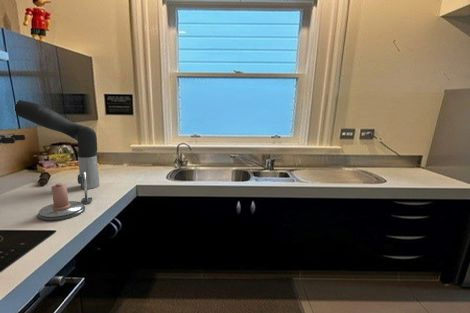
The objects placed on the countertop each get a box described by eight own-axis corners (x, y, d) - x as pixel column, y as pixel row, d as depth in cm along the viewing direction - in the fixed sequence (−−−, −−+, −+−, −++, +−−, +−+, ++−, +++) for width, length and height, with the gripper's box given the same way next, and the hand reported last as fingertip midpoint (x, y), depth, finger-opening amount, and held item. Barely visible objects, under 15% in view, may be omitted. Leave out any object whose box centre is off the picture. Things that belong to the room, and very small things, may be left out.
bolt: (41, 190, 153) (44, 182, 166) (50, 184, 155) (52, 177, 167) (34, 182, 151) (37, 174, 163) (43, 176, 152) (45, 169, 165)
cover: (55, 205, 120) (52, 182, 118) (72, 204, 122) (70, 181, 120) (49, 211, 114) (46, 187, 112) (67, 210, 115) (65, 186, 113)
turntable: (47, 204, 123) (47, 202, 123) (87, 201, 127) (87, 199, 127) (32, 219, 108) (32, 216, 108) (77, 215, 112) (77, 212, 112)
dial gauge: (82, 201, 132) (79, 171, 129) (92, 200, 133) (89, 170, 130) (79, 204, 128) (76, 173, 125) (90, 203, 129) (87, 173, 126)
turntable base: (47, 207, 124) (47, 204, 124) (89, 203, 128) (88, 201, 128) (30, 223, 108) (30, 220, 108) (79, 218, 112) (78, 216, 112)
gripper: (-45, 132, 98) (9, 131, 102) (-20, 128, 111) (26, 127, 116) (-41, 153, 99) (12, 151, 104) (-17, 146, 113) (29, 145, 117)
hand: (19, 138), depth 110 cm, fingers open, 8 cm apart
